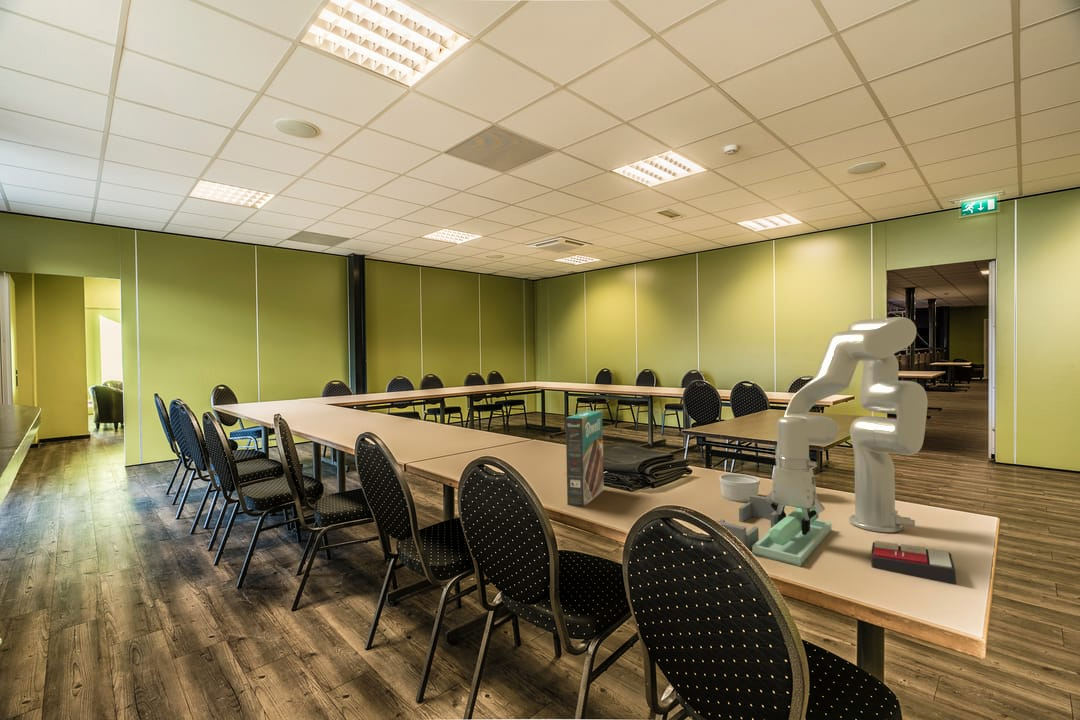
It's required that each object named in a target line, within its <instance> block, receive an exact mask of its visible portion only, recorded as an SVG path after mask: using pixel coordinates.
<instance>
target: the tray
mask: <svg viewBox="0 0 1080 720" xmlns="http://www.w3.org/2000/svg"><path fill="white" fill-rule="evenodd" d="M831 531H832V522H830V521H824V520H820V519H816V520H815V521H813V522H812V523H811V522H810V531H809V532H808V533H807V534H806V535H803V534H802V530H801V531H800V532H799V533H798V534H797V535H796V536H795V537H794V538H793V539H791V540H790V541H789V542H788V543H786V544H785V545H779V544H775V543H774V542H773V541H772V540H771V539H770V533H769V531H768V532H767V533H766V534H764V535H763V536H762V537H761V538H759V540H758V541H757V542H756V543H755V544H754V545H753V546H752V548H751V549H752V552H751V553H752V555H754V556H756V557H757V556H758V557H760V558H761V557H762V558H765V559H770V560H772V561H776V562H781V563H785V564H787V565H792V566H796V567H800V568H801V567H802V566H803V565H804V563H806V561H808V559H809V557H810V556H811V555H812V554H813V553H814V552H815V551H816V550H817V548H819V546H820V545H821V544H822V542H823V541H824V540H825V539H826V538H827V537H828V535H829V534H830V533H831Z"/></svg>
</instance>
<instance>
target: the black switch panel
mask: <svg viewBox="0 0 1080 720" xmlns="http://www.w3.org/2000/svg"><path fill="white" fill-rule="evenodd" d="M870 561H871V568H873V569H877V570H880V571H886V572H891V573H898V574H902V575H907V576H911V577H918V578H924V579H929V580H930V581H934V582H935V581H936V582H939V583H945V584H950V585H954V586H955V585H957V580H956V577H957V576H956V569H955V565H954V560H953V556H952V554H951V552H950V551H947V550H944V549H943V550H941V549H934V548H926V547H925V546H917V545H911V544H903V543H901V544H900V545H899V543H895V542H888V541H881V540H875V541H873V542H872V546H871V553H870Z"/></svg>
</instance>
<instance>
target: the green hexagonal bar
mask: <svg viewBox="0 0 1080 720" xmlns="http://www.w3.org/2000/svg"><path fill="white" fill-rule="evenodd" d="M814 509H816V506H815V505H813V507H812V508H811V509H810V511H812V510H814ZM803 517H804V516H803V513H802V510H801V508H797V507H795V509H793V511H792V512H790V513H789V514H786V517H785V518H784V519H782V520H781V521H780V522H778V523H777V524H776V525H775V526H773V527H772V528H771V527H770V528H769V531H768V532H769V533H770V539H771V540H772V541H773V542H774V543H775V544H779V545H785V544H786V543H788V542H789V541H790V540H791V539H793V538H794V537H795V536H796V535H797V534H798V533H799V532H800V531H801V530H802V519H803ZM819 517H820V513H818V514H816V515H815V516H813V517H812V518H811V519H810V522H811V523H812V522H813V521H815V520H819Z"/></svg>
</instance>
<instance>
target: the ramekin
mask: <svg viewBox="0 0 1080 720" xmlns="http://www.w3.org/2000/svg"><path fill="white" fill-rule="evenodd" d="M760 481H761V480H760V478H759V477H756V476H754V475H748V474H744V473H743V474H742V473H724V474H721V475H719V482H720V483H719V484H720V492H721V495H722V496H723V498H725V499H726V500H729V501H732V502H743V503H748V502H749V503H750V496H751V495H756V496H759V488H760V485H761V482H760Z"/></svg>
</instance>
